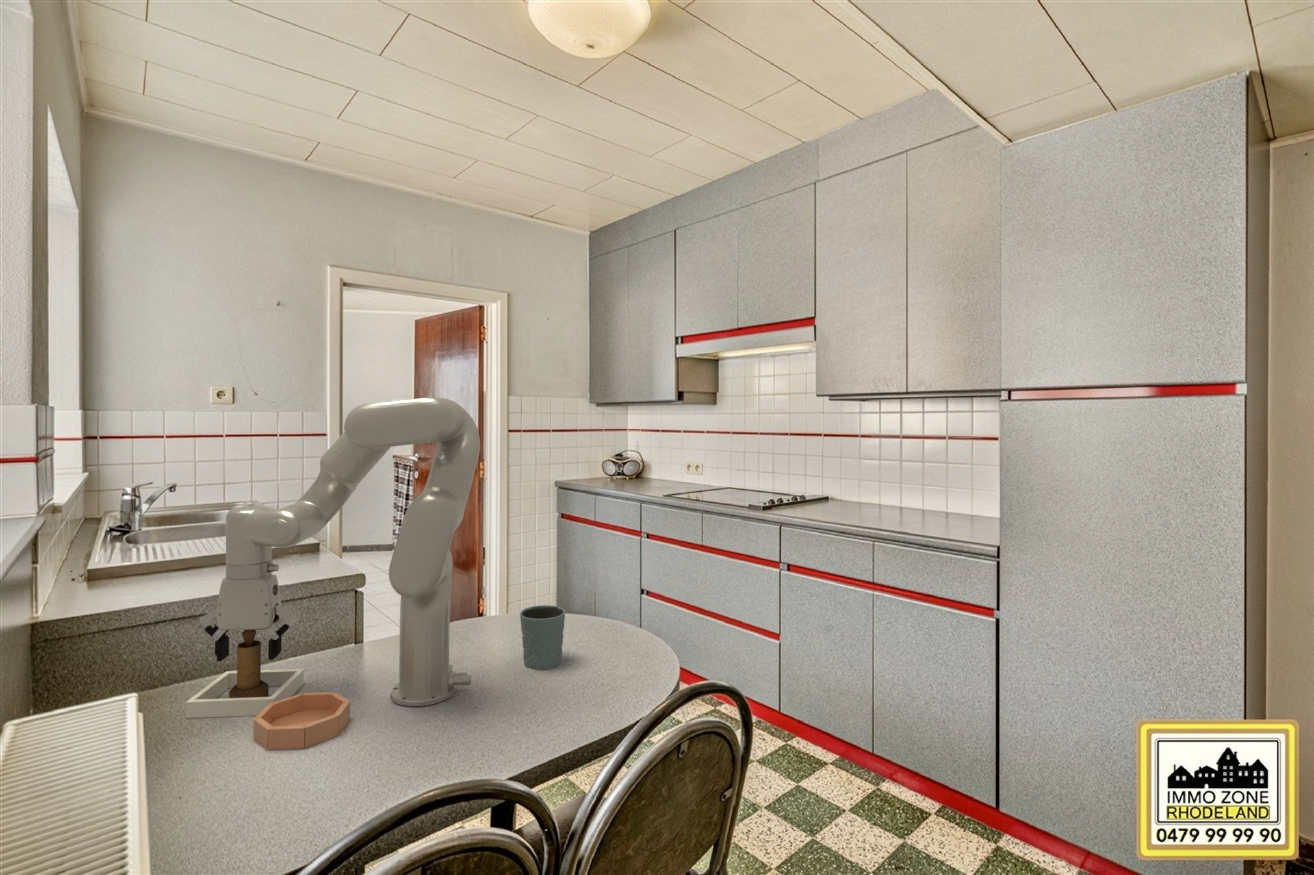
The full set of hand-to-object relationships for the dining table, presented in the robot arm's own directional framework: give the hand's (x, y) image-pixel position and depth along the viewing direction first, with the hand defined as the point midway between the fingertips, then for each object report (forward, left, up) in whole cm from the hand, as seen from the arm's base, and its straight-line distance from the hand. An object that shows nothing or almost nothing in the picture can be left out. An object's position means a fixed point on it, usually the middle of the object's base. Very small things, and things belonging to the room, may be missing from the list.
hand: (248, 658), depth 124 cm
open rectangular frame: (0, 0, -8) cm, 8 cm away
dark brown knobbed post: (0, 0, -8) cm, 8 cm away
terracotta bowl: (-15, +13, -8) cm, 22 cm away
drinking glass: (-56, -14, -9) cm, 58 cm away
